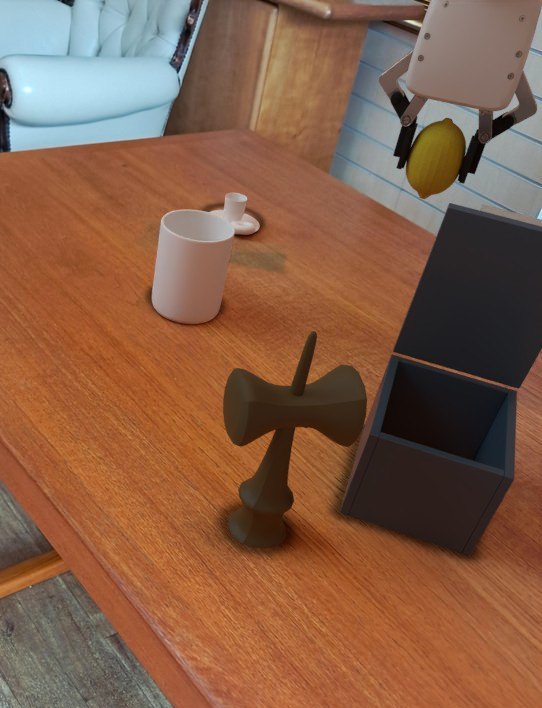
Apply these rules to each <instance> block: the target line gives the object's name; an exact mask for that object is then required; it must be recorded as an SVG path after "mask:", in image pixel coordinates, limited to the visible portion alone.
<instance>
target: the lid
mask: <svg viewBox="0 0 542 708" xmlns="http://www.w3.org/2000/svg"><path fill="white" fill-rule="evenodd" d="M433 241H434V242H433V244H432V247H431V249H430V252H429V254H428V257H427V260H426V263H425V265H424V268H423V270H422V273H421V275H420V277H419V280H418V283H417V286H416V288H415V291H414V294H413V297H412V299H411V301H410V304H409V307H408V308H407V311H406V315H405V317H404V320H403V323H402V325H401V328H400V329H399V333H398V335H397V338H396V340H395V343H394V346H393V348H392V352H393V353H395V354H399V355H402V356H405V357H408V358H412V359H415V360H419V361H422V362H425V363H429V364H432V365H437V366H440V367H443V368H447V369H450V370H453V371H457V372H460V373H464V374H467V375H471V376H474V377H478V378H480V379H484V380H487V381H491V382H494V383H498V384H501V385H504V386H508V387H510V388H511V387H512V388H515V389H520V388H521V386H522V385H523V383H524V382H525V380H526V378H527V376H528V375H529V372H530V371H531V369H532V367H533V365H534V364H535V362H536V360H537V358H538V357H539V355H540V354H541V351H542V218H538V217H537V218H536V217H533V216H529V215H525V214H523V213H522V214H521V213H517V212H513V211H511V210H505V209H502V208H498V207H494V206H491V205H486V204H482V205H481V207H480V208H479V209H476V208H472V207H467V206H463V205H459V204H456V203H452V202H449V203H448V205H447V208H446V210H445V212H444V215H443V218H442V221H441V222H440V226H439V228H438V231H437V234H436V236H435V239H434V240H433Z"/></svg>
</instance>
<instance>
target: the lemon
mask: <svg viewBox="0 0 542 708" xmlns="http://www.w3.org/2000/svg"><path fill="white" fill-rule="evenodd" d="M466 152H467V141H466V137H465V135H464V132H463V131H462V129H461V128H460V127H459V126H458V125H457V124H456V123H455V122H454V121H453V119H452V118H450V117H444V118H443V119H441V120H437V121H433V122H431V123H429V124H428V125H426V126H425V127H424V128H422V129H421V130H420V131H419V132H418V134H417V135H416V137H415V138H414V139H413V141H412V145H411V148H410V150H409V153H408V157H407V161H406V164H405V177H406V180H407V182H408V184H409V186H410V187H411V188H412V189H413V190H414V191H415V192H417V195H418V196H419V199H422V200H426V199H428V198H429V197H431V196H434V195H438V194H441V193H443V192H444V191H446V190H448V189H449V188H451V186H452V185H453V184H454V183H455V182H456V181H457V180H458V177H459V173H460V171H461V168H462V165H463V162H464V159H465V155H466Z"/></svg>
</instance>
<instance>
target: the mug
mask: <svg viewBox="0 0 542 708" xmlns="http://www.w3.org/2000/svg"><path fill="white" fill-rule="evenodd" d="M209 212H210V211H209ZM209 212H208V211H205V210H200V209H188V208H187V209H175V210H171V211H169V212H167V213H165V214H164V215H163V216H162V217H161V220H160V226H159V234H158V242H157V249H156V250H157V251H156V257H155V265H154V266H155V267H154V275H153V281H152V288H151V289H152V290H151V304H152V306H153V308H154V310H155V311H156V312H157V313H158V314H159V315H160V316H162V317H163V318H165V319H167V320H169V321H172V322H175V323H179V324H183V325H184V324H185V325H200V324H204V323H207V322H209V321H211V320H213V319H214V318H216V317H217V315H218V314H219V311H220V309H221V305H222V301H223V297H224V291H225V285H226V281H227V275H228V270H229V265H230V261H231V254H232V250H233V249H232V248H233V244H234V239H235V235H236V234H235V229H234V227H233V225H232V224H231V223H230V222H229V221H227V220H226V219H224V218H222V217H220V216H218V215H215V214H212V213H209Z"/></svg>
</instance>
